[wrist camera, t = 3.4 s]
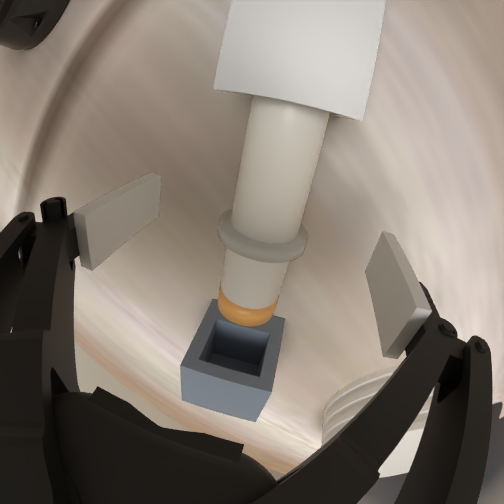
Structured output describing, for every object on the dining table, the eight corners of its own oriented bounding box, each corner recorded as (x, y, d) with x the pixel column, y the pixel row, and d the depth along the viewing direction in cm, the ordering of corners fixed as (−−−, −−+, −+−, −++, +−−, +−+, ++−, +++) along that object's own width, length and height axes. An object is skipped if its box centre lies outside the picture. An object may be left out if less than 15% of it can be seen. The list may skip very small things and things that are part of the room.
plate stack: (375, 442, 48) (375, 482, 38) (292, 410, 43) (283, 464, 34) (480, 388, 34) (492, 434, 24) (428, 333, 29) (449, 404, 20)
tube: (285, -49, 11) (274, -89, 5) (365, -33, 10) (379, -70, 5) (221, 275, 27) (198, 319, 22) (285, 292, 27) (276, 341, 21)
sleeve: (283, -43, 12) (265, -101, 4) (368, -26, 12) (390, -79, 3) (251, 96, 21) (212, 88, 12) (340, 117, 20) (361, 121, 12)
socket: (213, 298, 33) (180, 365, 24) (284, 318, 32) (271, 392, 23) (208, 339, 37) (181, 400, 28) (269, 357, 36) (255, 421, 27)
